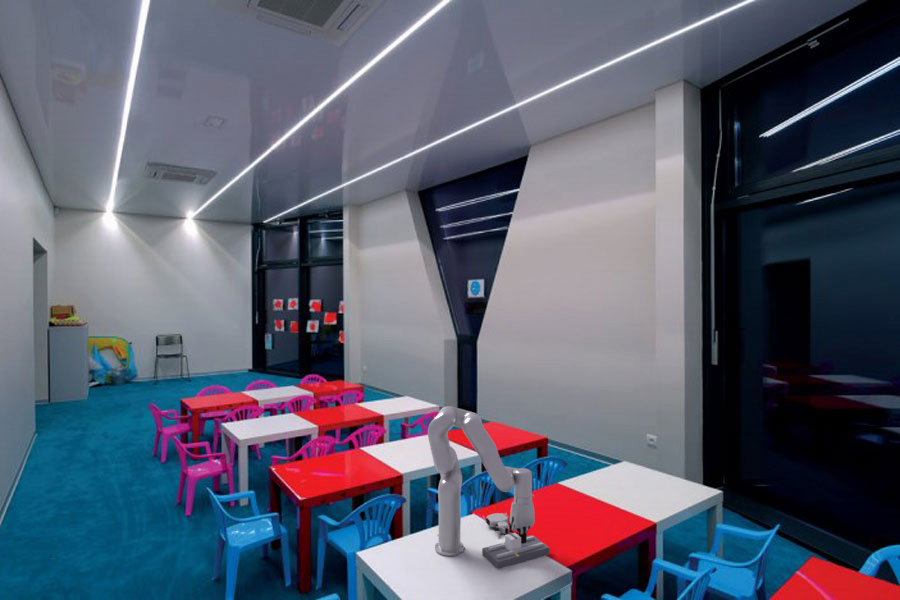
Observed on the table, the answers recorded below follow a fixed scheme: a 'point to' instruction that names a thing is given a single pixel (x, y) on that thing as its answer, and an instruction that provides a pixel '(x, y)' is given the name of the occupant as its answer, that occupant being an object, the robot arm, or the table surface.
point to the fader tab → (512, 541)
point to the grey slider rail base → (515, 553)
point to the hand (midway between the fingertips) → (522, 541)
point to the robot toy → (498, 522)
